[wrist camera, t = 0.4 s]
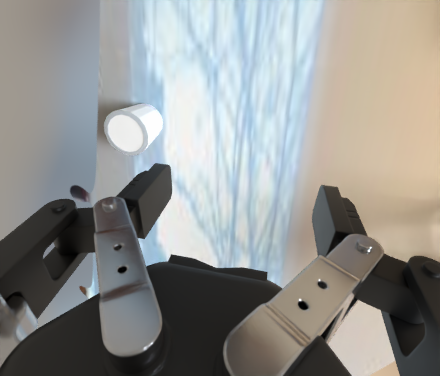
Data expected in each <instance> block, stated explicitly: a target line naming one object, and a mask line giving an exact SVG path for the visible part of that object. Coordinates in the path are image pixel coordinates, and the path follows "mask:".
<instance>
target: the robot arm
mask: <svg viewBox="0 0 440 376" xmlns="http://www.w3.org/2000/svg"><path fill="white" fill-rule="evenodd" d="M171 195H172V180H171V168H170V166H169V165H166V164H158V163H155V164H154V165H153V166H152V167H151V168H150V169H149V171H144V172H142V173H140V174H138V175H137V176H136V177H135V178H134V179H133V181H131V182H130V183H129V185H127V186H126V187H125V188H124V189H123V190H122V191H121V192H120V193H119V194H118V195H117V196H116V197H108V198H104V199H102V200H100V201H98V202H97V203H96V204H95V205H94V207H93V208H77V207H76V204H75V202H74V201H73V200H70V199H59V200H55V201H52V202H49V203H47V204H46V205H44V206H43V207H42V208H41V209H39V210H38V211H37V212H36V213H34V214H33V215H32V216H31V217H30V218H28V219H27V220H26V221H25V222H24V223H22V224H21V225H20V226H18V227H17V228H16V229H15V230H14V231H12V232H11V233H10V234H9V235H7V236H6V237H5V238H4V239H2V240H1V241H0V376H351V374H350V373H349V372H348V370H347V369H346V368H345V366H344V365H343V364H342V362H341V361H340V360H339V359H338V357H337V356H336V355H335V353H334V352H333V351H332V349H331V348H330V347H329V345H328V343H329V342H330V340H331V339H332V337H333V336H334V334H335V332H336V331H337V329H338V328H339V326H340V325H341V324H342V322H343V321H344V320H345V318H346V317H347V316H348V314H349V313H350V312H351V310H352V309H353V308H354V306H355V305H356V304H357V302H358V301H359V300H360V301H362V302H364V303H366V304H368V305H371V306H373V307H375V308H377V309H379V310H381V313H382V316H383V320H384V323H385V326H386V330H387V333H388V337H389V340H390V343H391V347H392V350H393V354H394V357H395V360H396V364H397V367H398V371H399V374H400V376H440V263H439V262H437V261H435V260H433V259H431V258H428V257H424V256H413V257H411V258H410V259H409V261H408V262H407V263H406V262H404V261H401V260H398V259H395V258H393V257H390V256H388V255H386V254H384V250H383V248H382V247H381V245H380V244H379V243H378V242H376V241H375V240H374V239H372V238H370V237H368V236H367V234H366V231H365V229H364V227H363V224H362V222H361V220H360V219H359V218H360V217H359V215H358V213H357V210H356V208H355V206H354V204H353V203H352V202H351V201H350V200H349V199H347V198H342V197H341V195H340V192H339V190H338V187H333V186H325V185H321V187H320V189H319V192H318V196H317V199H316V202H315V206H314V209H313V214H312V223H313V229H314V235H315V241H316V247H317V252H318V257H317V258H316V259H315V260H314V261H312V262H311V263H310V264H309V265H308V266H307V267H306V268H305V269H304V270H303V271H302V272H301V273H299V274H298V275H297V276H296V277H295V278H294V279H293V280H292V281H291V282H290V283H289V284H288V285H286V286H285V287H284V288H283V289H282V288H281V287H279V286H278V285H276V284H274V283H273V282H271V281H268V280H267V272H264V271H259V270H253V269H248V268H215V267H213V266H210V265H208V264H206V263H203V262H201V261H198V260H196V259H193V258H188V257H182V256H177V255H172V254H171V256H170V259H169V261H168V262H159V263H155V264H152V265H149V266H147V267H146V265H145V261H144V258H143V255H142V251H141V248H140V245H139V241H138V238H142V239H145V238H146V236H147V234H148V233H149V231H150V230H151V228H152V227H153V225H154V224H155V222H156V221H157V219H158V217H159V216H160V214H161V213H162V211H163V210H164V208H165V207H166V205H167V203H168V202H169V200H170V198H171ZM52 242H54V245H55V247H54V248H53V249H52V250H51V252H50V253H49V254H48V255H47V256H46V257H45V258H44V259H43V254H44V252H45V250H46V249H47V248H48V247H49V246H50V245H51V243H52ZM90 252H91V253H92V252H96V262H97V272H98V282H99V292H100V293H99V294H97V295H95V296H93V297H92V298H90V299H88V300H86V301H85V302H83V303H81V304H79V305H78V306H76V307H74V308H73V309H71V310H69V311H67V312H66V313H64V314H62V315H60V316H59V317H57V318H55V319H54V320H52V321H50V322H48V323H46V324H45V325H43V326H42V327H40V328H38V329H37V326H38V321H37V319H38V318H39V316H40V315H41V313H42V312H43V311H44V310H45V308H46V307H47V306H48V305H49V303H50V302H51V301H52V299H53V298H54V297H55V295H56V294H57V293H58V292H59V290H60V289H61V288H62V286H63V285H64V284H65V283H66V281H67V280H68V279H69V277H70V276H71V275H72V273H73V272H74V271H75V270H76V268H77V267H78V266H79V264H80V263H81V262H82V260H83V259H84V258H85V257H86V255H87V254H88V253H90Z"/></svg>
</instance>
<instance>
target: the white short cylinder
mask: <svg viewBox="0 0 440 376" xmlns="http://www.w3.org/2000/svg"><path fill="white" fill-rule="evenodd" d="M162 126H163V120H162V117H161V114H160V113H159V112H158V110H157V109H156V108H154V107H153V106H152V105H149V104H145V103H143V104H138V105H134V106H130V107H127V108H123V109H119V110H116V111H113V112H111V113H110V114H109V115H108V116H107V117H106V120H105V122H104V133H105V135H106V137H107V140H108V142H109V143H110V144H111V145H112V146H113V148H114V149H116V150H117V151H119V152H120V153H122V154H125V155H129V156H135V155H139V154H141V153H142V152H144V151H145V150H146V148H147V147H148V146H149V145H150V144H151V143H152V141H153V140H154V139H155V138H156V137H157V135H158V134H159V133H160V131H161V129H162Z"/></svg>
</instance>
